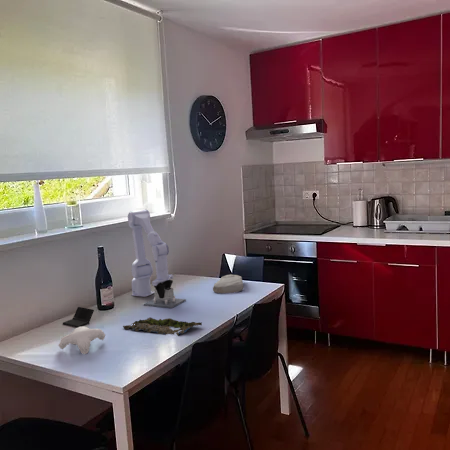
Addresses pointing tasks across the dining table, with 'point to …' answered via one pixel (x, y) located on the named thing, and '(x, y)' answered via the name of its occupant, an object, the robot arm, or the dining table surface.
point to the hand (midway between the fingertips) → (164, 296)
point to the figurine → (82, 338)
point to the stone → (229, 284)
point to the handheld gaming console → (80, 317)
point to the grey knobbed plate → (165, 303)
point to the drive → (165, 294)
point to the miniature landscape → (161, 326)
